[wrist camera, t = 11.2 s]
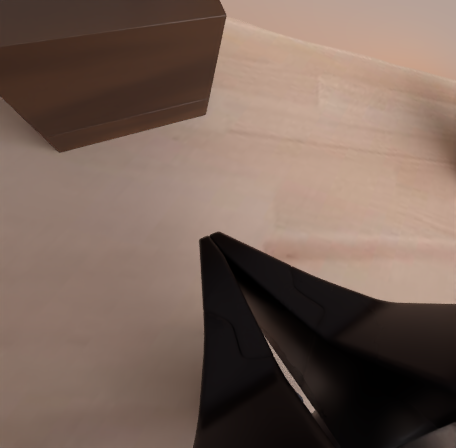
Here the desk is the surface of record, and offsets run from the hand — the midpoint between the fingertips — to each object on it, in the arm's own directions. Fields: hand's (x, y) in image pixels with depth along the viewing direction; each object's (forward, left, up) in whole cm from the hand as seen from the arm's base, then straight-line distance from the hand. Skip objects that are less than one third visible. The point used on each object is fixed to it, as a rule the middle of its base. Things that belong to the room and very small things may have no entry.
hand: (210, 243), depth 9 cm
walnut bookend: (+16, -9, -13) cm, 23 cm away
